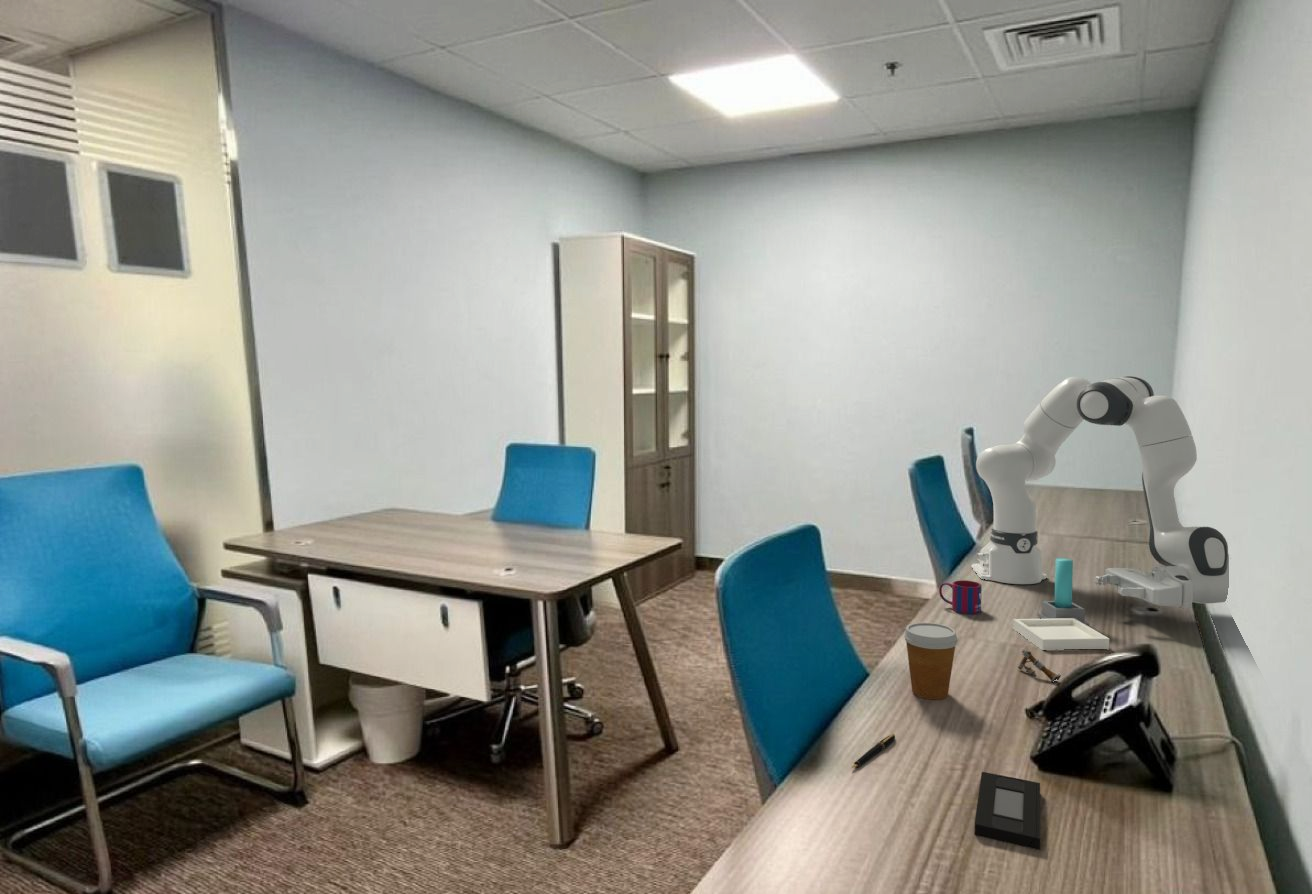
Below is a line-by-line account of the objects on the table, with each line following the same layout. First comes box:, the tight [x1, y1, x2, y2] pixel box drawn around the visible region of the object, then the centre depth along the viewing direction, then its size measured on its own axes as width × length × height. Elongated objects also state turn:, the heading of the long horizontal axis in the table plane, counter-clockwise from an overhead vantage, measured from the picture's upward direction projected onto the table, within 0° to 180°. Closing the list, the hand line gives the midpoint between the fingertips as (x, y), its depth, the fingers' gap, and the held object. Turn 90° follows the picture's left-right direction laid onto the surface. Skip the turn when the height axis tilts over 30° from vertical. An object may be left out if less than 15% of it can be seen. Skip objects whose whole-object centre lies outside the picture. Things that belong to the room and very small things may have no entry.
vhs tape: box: [973, 771, 1041, 851], centre depth 102 cm, size 8×14×2 cm, turn 153°
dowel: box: [1054, 558, 1074, 608], centre depth 180 cm, size 4×4×14 cm
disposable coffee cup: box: [903, 622, 959, 700], centre depth 141 cm, size 10×10×12 cm
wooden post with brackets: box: [1017, 649, 1062, 683], centre depth 148 cm, size 2×8×4 cm, turn 30°
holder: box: [1037, 600, 1090, 627], centre depth 180 cm, size 8×8×4 cm
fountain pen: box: [850, 733, 896, 769], centre depth 119 cm, size 14×1×2 cm, turn 137°
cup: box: [938, 579, 983, 615], centre depth 191 cm, size 7×10×7 cm
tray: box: [1012, 618, 1110, 651], centre depth 168 cm, size 14×14×2 cm
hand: (1107, 585), depth 179 cm, fingers open, 8 cm apart
